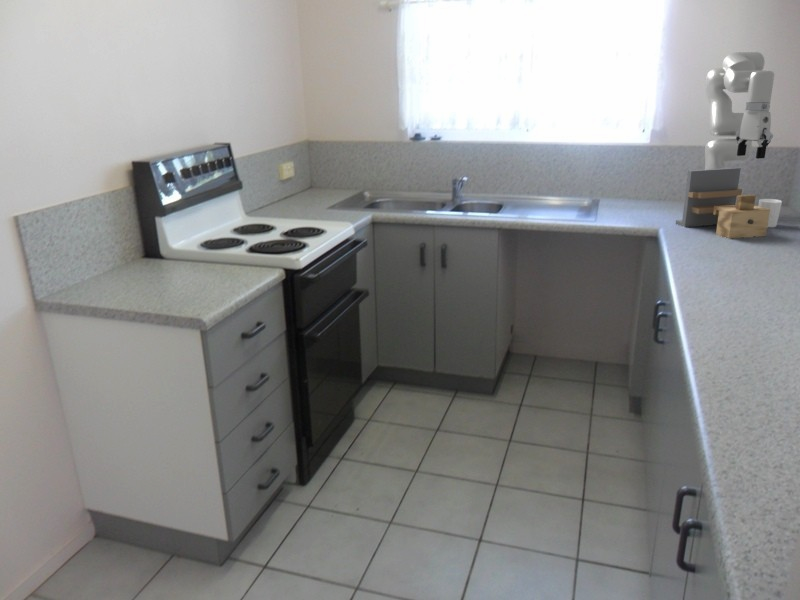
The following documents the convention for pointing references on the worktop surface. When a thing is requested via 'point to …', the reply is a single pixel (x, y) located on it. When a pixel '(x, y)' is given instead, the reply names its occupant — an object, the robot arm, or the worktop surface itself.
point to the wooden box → (742, 218)
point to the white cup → (771, 210)
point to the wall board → (708, 194)
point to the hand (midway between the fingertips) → (750, 156)
